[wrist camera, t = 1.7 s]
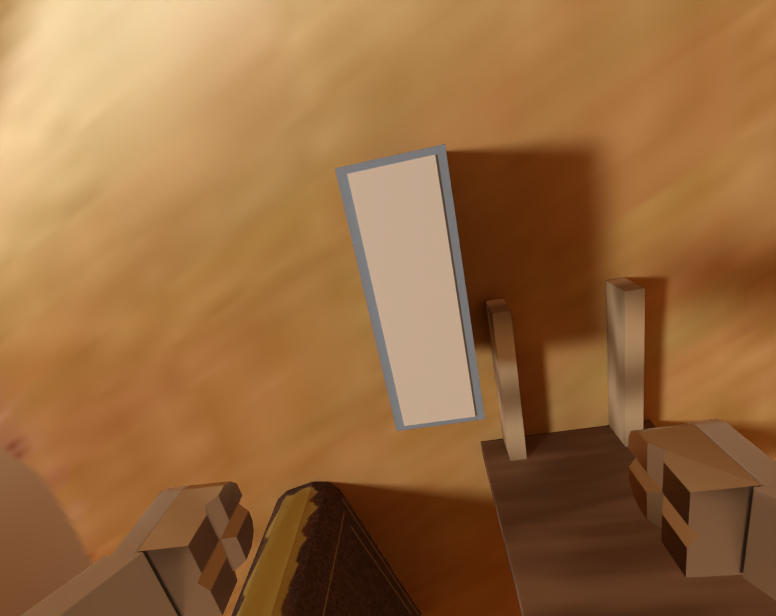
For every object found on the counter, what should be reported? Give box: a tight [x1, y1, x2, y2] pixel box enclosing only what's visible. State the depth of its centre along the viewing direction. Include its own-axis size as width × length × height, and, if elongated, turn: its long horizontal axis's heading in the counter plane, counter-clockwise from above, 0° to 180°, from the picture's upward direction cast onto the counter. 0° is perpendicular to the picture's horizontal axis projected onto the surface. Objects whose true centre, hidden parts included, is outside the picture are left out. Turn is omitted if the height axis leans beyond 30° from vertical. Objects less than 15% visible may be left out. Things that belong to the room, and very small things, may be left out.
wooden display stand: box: [481, 277, 776, 616], centre depth 23 cm, size 14×13×14 cm
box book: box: [335, 144, 485, 431], centre depth 22 cm, size 13×4×10 cm, turn 12°
